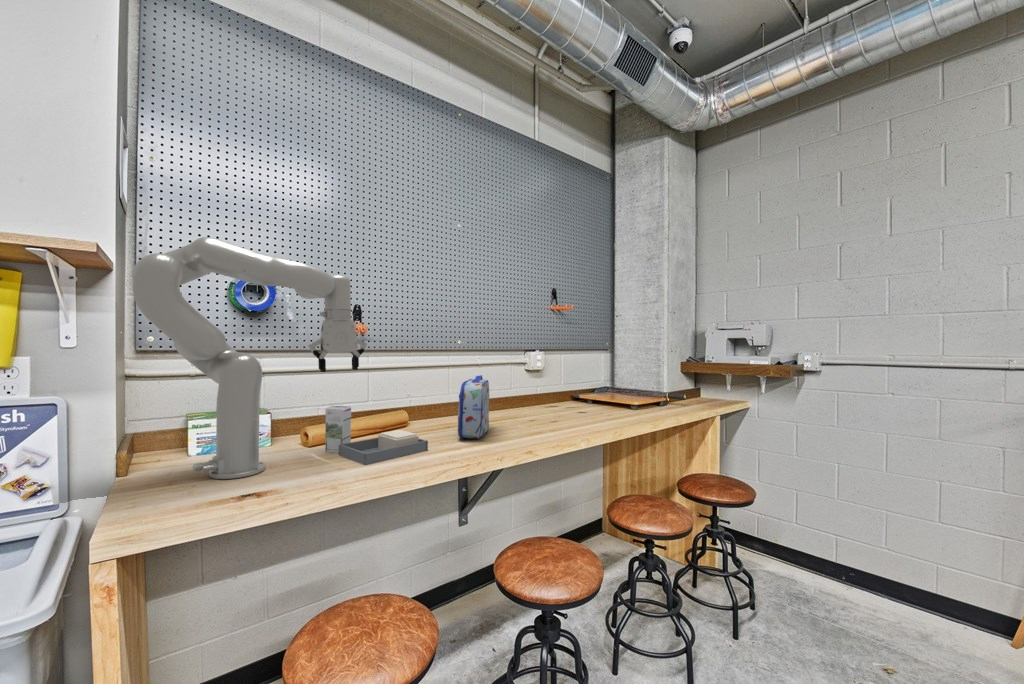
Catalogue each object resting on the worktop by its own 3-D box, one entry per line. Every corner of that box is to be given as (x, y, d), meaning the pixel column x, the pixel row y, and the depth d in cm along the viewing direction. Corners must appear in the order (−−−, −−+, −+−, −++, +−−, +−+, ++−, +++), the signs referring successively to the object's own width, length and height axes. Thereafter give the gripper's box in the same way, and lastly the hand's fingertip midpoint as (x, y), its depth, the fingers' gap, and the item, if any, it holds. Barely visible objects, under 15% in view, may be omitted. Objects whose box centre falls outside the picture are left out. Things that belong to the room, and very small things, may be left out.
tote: (365, 468, 116) (365, 453, 116) (338, 458, 126) (338, 444, 126) (427, 453, 132) (427, 440, 132) (399, 445, 142) (399, 433, 142)
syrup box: (351, 451, 134) (351, 405, 134) (342, 456, 128) (342, 408, 128) (334, 450, 135) (334, 405, 135) (324, 455, 129) (324, 407, 129)
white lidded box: (396, 454, 126) (396, 438, 126) (378, 449, 133) (378, 433, 133) (418, 449, 132) (418, 433, 132) (399, 444, 139) (400, 429, 139)
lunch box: (465, 426, 174) (465, 373, 174) (490, 426, 174) (490, 373, 174) (454, 442, 147) (455, 379, 147) (484, 442, 147) (485, 379, 147)
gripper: (311, 315, 123) (313, 373, 123) (370, 315, 134) (371, 369, 134) (304, 315, 128) (306, 371, 129) (361, 316, 140) (362, 368, 140)
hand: (339, 370), depth 132 cm, fingers open, 9 cm apart
